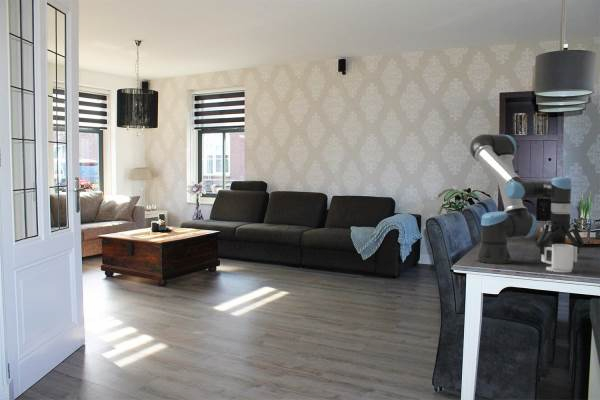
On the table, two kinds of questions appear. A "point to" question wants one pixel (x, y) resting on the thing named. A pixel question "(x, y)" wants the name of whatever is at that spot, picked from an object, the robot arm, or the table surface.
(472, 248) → the table surface
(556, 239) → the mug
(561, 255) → the cup
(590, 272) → the table surface
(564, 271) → the saucer
